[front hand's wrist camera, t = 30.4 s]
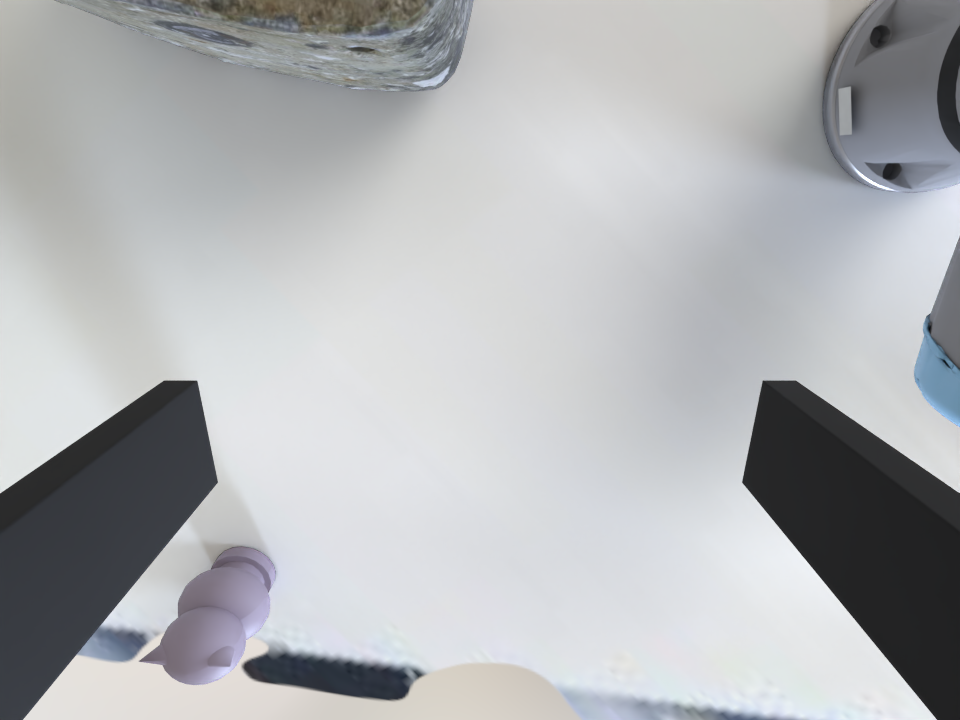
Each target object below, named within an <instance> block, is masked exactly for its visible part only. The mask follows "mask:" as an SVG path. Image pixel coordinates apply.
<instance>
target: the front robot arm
mask: <svg viewBox="0 0 960 720" xmlns="http://www.w3.org/2000/svg"><path fill="white" fill-rule="evenodd" d="M823 121H824V128H825V134H826V137H827V141H828V144H829V146H830V148H831V151H832V153H833V154H834V156H835V158H836V160H837V161H838V162H839V164H840V165H841V166H842V168H843V169H844V170H845V171H846V172H847V173H848V174H850V175H851V176H852V177H853V178H855V179H856V180H858V181H859V182H861V183H863V184H865V185H867V186H870V187H873V188H876V189H880V190H885V191H894V192H925V191H931V190H937V189H942V188H947V187H950V186H953V185H956V184H959V183H960V0H876V1H874V2H873V3H872V4H871V5H870V6H869V7H868V8H867V9H866V10H865V12H864V13H863V14H862V15H861V16H860V17H859V18H858V20H857V21H856V22H855V23H854V25H853V26H852V27H851V29H850V30H849V32H848V33H847V35H846V36H845V38H844V40H843V42H842V43H841V45H840V47H839V49H838V51H837V53H836V55H835V58H834V60H833V63H832V65H831V68H830V71H829V74H828V78H827V81H826V86H825V91H824V100H823ZM923 332H924V338H923V341H922V345H921V348H920V351H919V355H918V358H917V361H916V365H915V369H914V376H915V382H916V383H917V385H918V387H919V389H920V390H921V392H922V395H923V397H924V398H925V399H926V400H927V402H928V403H929V404H930V405H931V406H932V407H933V408H934V409H936V410H937V411H938V412H939V413H940V414H942V415H943V416H944V417H946V418H947V419H948V420H950V421H951V422H953V423H954V424H956V425H957V426H959V427H960V237H959V240H958V243H957V245H956V248H955V250H954V253H953V256H952V258H951V261H950V264H949V266H948V269H947V272H946V274H945V277H944V280H943V282H942V285H941V288H940V290H939V293H938V296H937V298H936V301H935V304H934V306H933V309H932V312H931V313H930V314H929V315H928V316H927V317H926V319H925V321H924V324H923ZM217 483H218V481H217V476H216V471H215V466H214V461H213V456H212V451H211V446H210V441H209V437H208V432H207V427H206V422H205V417H204V412H203V407H202V402H201V397H200V392H199V387H198V382H197V381H163V382H162V383H160V384H159V385H157V386H156V387H154V388H153V389H151V390H150V391H148V392H147V393H146V394H144V395H143V396H141V397H140V398H138V399H137V400H135V401H134V402H132V403H131V404H130V405H128V406H127V407H125V408H124V409H122V410H121V411H119V412H118V413H117V414H115V415H114V416H112V417H111V418H109V419H108V420H106V421H105V422H103V423H102V424H101V425H99V426H98V427H96V428H95V429H93V430H92V431H90V432H89V433H87V434H86V435H85V436H83V437H82V438H80V439H79V440H77V441H76V442H74V443H73V444H71V445H70V446H69V447H67V448H66V449H64V450H63V451H61V452H60V453H58V454H57V455H56V456H54V457H53V458H51V459H50V460H48V461H47V462H45V463H44V464H42V465H41V466H40V467H38V468H37V469H35V470H34V471H32V472H31V473H29V474H28V475H26V476H25V477H24V478H22V479H21V480H19V481H18V482H16V483H15V484H13V485H12V486H10V487H9V488H8V489H6V490H5V491H3V492H2V493H0V720H23V719H24V718H25V716H26V715H27V714H28V713H29V712H30V710H31V709H32V708H33V707H34V705H35V704H36V703H37V702H38V701H39V699H40V698H41V697H42V696H43V695H44V693H45V692H46V691H47V690H48V688H49V687H50V686H51V685H52V684H53V682H54V681H55V680H56V679H57V677H58V676H59V675H60V674H61V673H62V671H63V670H64V669H65V668H66V667H67V665H68V664H69V663H70V662H71V660H72V659H73V658H74V657H75V656H76V654H77V653H78V652H79V651H80V650H81V648H82V647H83V646H84V645H85V643H86V642H87V641H88V640H89V639H90V637H91V636H92V635H93V634H94V632H95V631H96V630H97V629H98V628H99V626H100V625H101V624H102V623H103V622H104V620H105V619H106V618H107V617H108V615H109V614H110V613H111V612H112V611H113V609H114V608H115V607H116V606H117V604H118V603H119V602H120V601H121V600H122V598H123V597H124V596H125V595H126V594H127V592H128V591H129V590H130V589H131V587H132V586H133V585H134V584H135V583H136V581H137V580H138V579H139V578H140V576H141V575H142V574H143V573H144V572H145V570H146V569H147V568H148V567H149V566H150V564H151V563H152V562H153V561H154V559H155V558H156V557H157V556H158V555H159V553H160V552H161V551H162V550H163V548H164V547H165V546H166V545H167V544H168V542H169V541H170V540H171V539H172V538H173V536H174V535H175V534H176V533H177V531H178V530H179V529H180V528H181V527H182V525H183V524H184V523H185V522H186V520H187V519H188V518H189V517H190V516H191V514H192V513H193V512H194V511H195V510H196V508H197V507H198V506H199V505H200V503H201V502H202V501H203V500H204V499H205V497H206V496H207V495H208V494H209V492H210V491H211V490H212V489H213V488H214V486H215V485H216V484H217ZM742 483H743V484H744V485H745V486H746V488H747V489H748V490H749V491H750V492H751V494H752V495H753V496H754V497H755V499H756V500H757V501H758V502H759V503H760V505H761V506H762V507H763V508H764V510H765V511H766V512H767V513H768V514H769V516H770V517H771V518H772V519H773V520H774V522H775V523H776V524H777V525H778V527H779V528H780V529H781V530H782V531H783V533H784V534H785V535H786V536H787V538H788V539H789V540H790V541H791V542H792V544H793V545H794V546H795V547H796V548H797V550H798V551H799V552H800V553H801V555H802V556H803V557H804V558H805V559H806V561H807V562H808V563H809V564H810V566H811V567H812V568H813V569H814V570H815V572H816V573H817V574H818V575H819V576H820V578H821V579H822V580H823V581H824V583H825V584H826V585H827V586H828V587H829V589H830V590H831V591H832V592H833V594H834V595H835V596H836V597H837V598H838V600H839V601H840V602H841V603H842V604H843V606H844V607H845V608H846V609H847V611H848V612H849V613H850V614H851V615H852V617H853V618H854V619H855V620H856V622H857V623H858V624H859V625H860V626H861V628H862V629H863V630H864V631H865V632H866V634H867V635H868V636H869V637H870V639H871V640H872V641H873V642H874V643H875V645H876V646H877V647H878V648H879V650H880V651H881V652H882V653H883V654H884V656H885V657H886V658H887V659H888V660H889V662H890V663H891V664H892V665H893V667H894V668H895V669H896V670H897V671H898V673H899V674H900V675H901V676H902V678H903V679H904V680H905V681H906V682H907V684H908V685H909V686H910V687H911V688H912V690H913V691H914V692H915V693H916V695H917V696H918V697H919V698H920V699H921V701H922V702H923V703H924V704H925V706H926V707H927V708H928V709H929V710H930V712H931V713H932V714H933V715H934V716H935V718H936V719H937V720H960V493H958V492H957V491H955V490H954V489H952V488H951V487H950V486H948V485H947V484H945V483H944V482H942V481H941V480H939V479H938V478H936V477H935V476H934V475H932V474H931V473H929V472H928V471H926V470H925V469H923V468H922V467H920V466H919V465H918V464H916V463H915V462H913V461H912V460H910V459H909V458H907V457H906V456H904V455H903V454H902V453H900V452H899V451H897V450H896V449H894V448H893V447H891V446H890V445H889V444H887V443H886V442H884V441H883V440H881V439H880V438H878V437H877V436H875V435H874V434H873V433H871V432H870V431H868V430H867V429H865V428H864V427H862V426H861V425H859V424H858V423H857V422H855V421H854V420H852V419H851V418H849V417H848V416H846V415H845V414H843V413H842V412H841V411H839V410H838V409H836V408H835V407H833V406H832V405H830V404H829V403H828V402H826V401H825V400H823V399H822V398H820V397H819V396H817V395H816V394H814V393H813V392H812V391H810V390H809V389H807V388H806V387H804V386H803V385H801V384H800V383H798V382H797V381H763V382H762V387H761V392H760V397H759V402H758V407H757V412H756V417H755V422H754V427H753V432H752V437H751V441H750V446H749V451H748V456H747V461H746V466H745V471H744V476H743V481H742Z"/></svg>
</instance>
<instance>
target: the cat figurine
mask: <svg viewBox="0 0 960 720" xmlns="http://www.w3.org/2000/svg"><path fill="white" fill-rule="evenodd" d="M275 574H276V571H275V568H274V565H273V563H272V562H271V561H270V560H269V558H268V557H267V556H265V555H264V554H263V553H261V552H260V551H257V550H255V549H252V548H247V547H234V548H231V549H228V550H226V551H224V552H223V553H222V554H221V555H220V556H219V557H218V558H217V560H216V561H215V563H214V564H213V566H212V568H211V570H209V571H206V572H204V573H201V574H200V575H198V576H197V577H196V578H194V579H193V580H192V581H191V582H189V583H188V584H187V586H186V587H185V589H184V591H183V593H182V595H181V596H180V598H179V602H178V618H177V619H176V620H175V621H174V622H172V623H171V624H170V626H169V627H168V628H167V630H166V632H165V634H164V636H163V638H162V640H161V643H160V645H159V646H158V647H157V648H155V649H154V650H153V651H151V652H150V653H149V654H148V655H146V656H145V657H144V658H142V659H141V660H140V661H139V662H146V663H153V664H160V665H163V667H164V669H165V671H166V672H167V673H168V674H169V675H170V676H171V677H172V678H174V679H175V680H177V681H179V682H182V683H185V684H191V685H201V684H207V683H211V682H214V681H216V680H219V679H221V678H222V677H223V676H225V675H226V674H228V673H229V672H230V671H231V670H233V669H234V668H235V666H236V665H237V663H238V662H239V660H240V659H241V657H242V655H243V653H244V650H245V645H246V640H247V639H249V638H250V637H251V636H253V635H254V634H255V633H257V632H258V631H259V630H260V629H261V627H262V626H263V624H264V622H265V621H266V619H267V617H268V615H269V610H270V597H269V594H268V592H269V590H270V588H271V586H272V584H273V582H274V580H275Z"/></svg>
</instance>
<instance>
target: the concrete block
mask: <svg viewBox="0 0 960 720" xmlns="http://www.w3.org/2000/svg"><path fill="white" fill-rule="evenodd" d="M55 1H58V2H60V3H64V4H68V5H71V6H73V7H76V8H79V9H81V10H84V11H86V12H89V13H92V14H94V15H97V16H99V17H102V18H105V19H107V20H110V21H112V22H114V23H117V24H119V25H122V26H124V27H127V28H129V29H132V30H135V31H138V32H141V33H142V34H145V35H149V36H152V37H154V38H157V39H160V40H163V41H166V42H169V43H172V44H175V45H178V46H180V47H184V48H187V49H190V50H193V51H196V52H199V53H202V54H205V55H208V56H211V57H214V58H217V59H220V60H222V61H223V62H229V63H232V64H237V65H243V66H247V67H253V68H258V69H262V70H267V71H272V72H277V73H281V74H286V75H290V76H295V77H300V78H305V79H310V80H315V81H320V82H325V83H330V84H334V85H338V86H343V87H347V88H351V89H361V90H364V89H368V90H381V91H424V90H433V89H436V88H439V87H440V86H442V85H443V84H444V83H446V82H447V81H448V79H449V78H450V77H451V76H452V75H453V74H454V72H455V70H456V68H457V65H458V63H459V60H460V57H461V54H462V50H463V47H464V42H465V38H466V33H467V29H468V24H469V20H470V15H471V11H472V6H473V0H55Z"/></svg>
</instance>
